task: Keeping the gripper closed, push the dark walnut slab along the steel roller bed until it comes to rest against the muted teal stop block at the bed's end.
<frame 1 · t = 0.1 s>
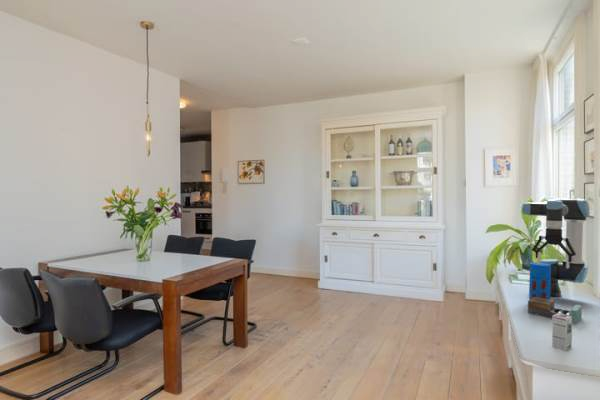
hand: (552, 266, 205), 28 cm above the cabinet, fingers open, 13 cm apart
stop block: (575, 320, 198), on the cabinet
slab: (541, 307, 210), point 3 cm above the cabinet, touching roller bed
syrup box: (561, 347, 164), on the cabinet
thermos: (539, 304, 225), on the cabinet
roller bed: (551, 315, 206), on the cabinet
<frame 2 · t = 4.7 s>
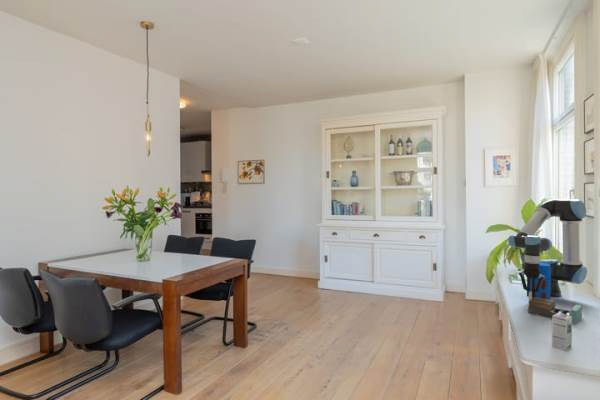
hand: (530, 302, 214), 5 cm above the cabinet, fingers closed
slab: (541, 307, 209), point 3 cm above the cabinet, touching gripper, roller bed
everything else where it was.
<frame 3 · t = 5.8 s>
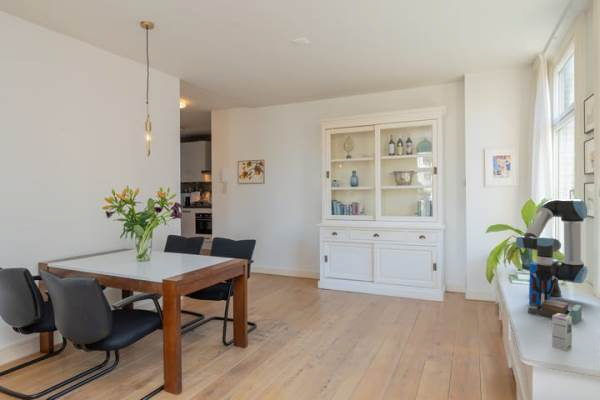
hand: (543, 304, 209), 5 cm above the cabinet, fingers closed
slab: (554, 310, 205), point 3 cm above the cabinet, touching gripper, roller bed
everything else where it was.
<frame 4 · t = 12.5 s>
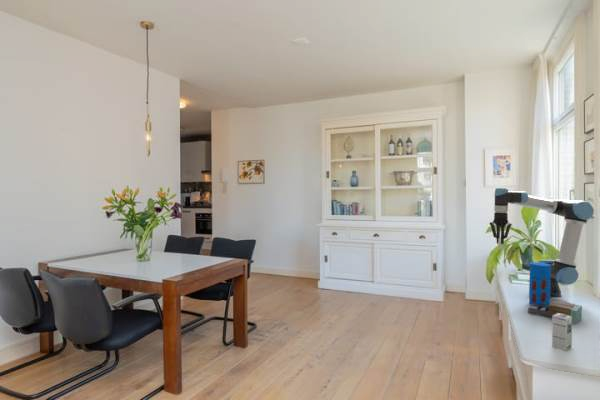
hand: (500, 248, 235), 32 cm above the cabinet, fingers closed
slab: (561, 311, 203), point 3 cm above the cabinet, touching roller bed
everything else where it was.
at the end: slab inside the target area (0.1 cm from its centre), point 3.1 cm above the cabinet; slab tilted 0° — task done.
